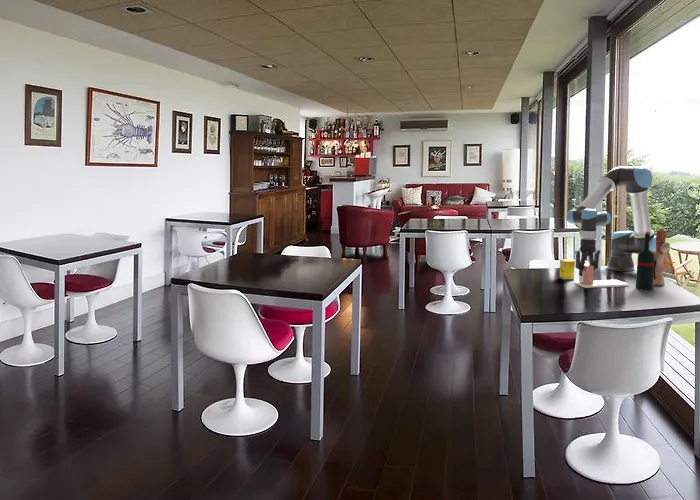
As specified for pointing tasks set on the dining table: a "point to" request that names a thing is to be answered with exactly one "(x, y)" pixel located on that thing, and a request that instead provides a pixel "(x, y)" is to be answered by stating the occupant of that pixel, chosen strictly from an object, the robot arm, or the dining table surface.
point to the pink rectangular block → (587, 277)
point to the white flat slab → (610, 283)
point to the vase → (660, 256)
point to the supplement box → (567, 269)
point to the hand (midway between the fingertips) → (586, 281)
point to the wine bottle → (645, 267)
